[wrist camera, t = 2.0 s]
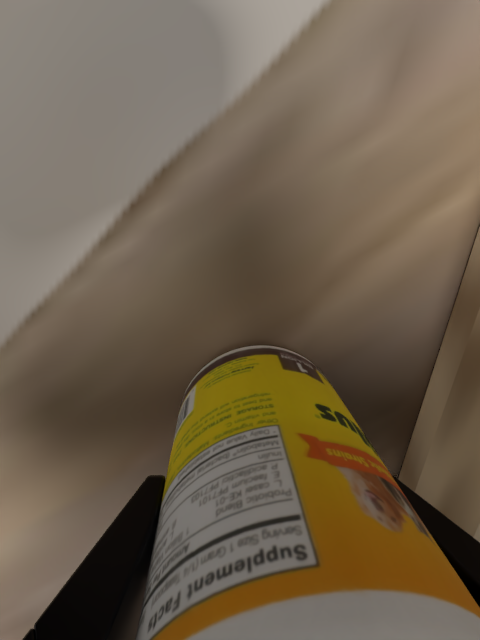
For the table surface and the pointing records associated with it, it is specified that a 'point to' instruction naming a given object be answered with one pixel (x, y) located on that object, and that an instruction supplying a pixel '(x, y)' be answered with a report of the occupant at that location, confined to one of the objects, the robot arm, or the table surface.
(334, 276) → the table surface
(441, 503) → the wooden divided tray
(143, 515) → the robot arm
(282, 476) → the supplement bottle
